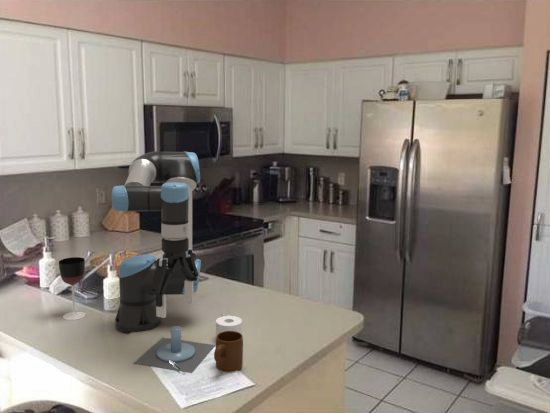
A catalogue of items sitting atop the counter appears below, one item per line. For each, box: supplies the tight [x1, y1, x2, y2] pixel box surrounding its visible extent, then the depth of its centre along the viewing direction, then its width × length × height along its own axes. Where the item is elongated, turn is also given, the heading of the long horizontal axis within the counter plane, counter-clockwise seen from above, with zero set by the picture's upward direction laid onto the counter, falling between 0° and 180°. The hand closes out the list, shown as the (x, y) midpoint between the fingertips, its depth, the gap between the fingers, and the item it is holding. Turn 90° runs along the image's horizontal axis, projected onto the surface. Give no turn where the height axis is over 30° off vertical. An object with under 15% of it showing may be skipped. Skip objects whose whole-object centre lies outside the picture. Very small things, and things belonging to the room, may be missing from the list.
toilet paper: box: [215, 313, 243, 338], centre depth 159 cm, size 8×11×7 cm
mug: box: [213, 331, 244, 373], centre depth 139 cm, size 12×8×9 cm, turn 159°
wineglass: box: [58, 256, 87, 321], centre depth 174 cm, size 8×9×20 cm
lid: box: [157, 325, 195, 363], centre depth 147 cm, size 11×11×8 cm
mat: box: [132, 337, 216, 374], centre depth 148 cm, size 18×18×1 cm
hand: (175, 309), depth 145 cm, fingers open, 13 cm apart
